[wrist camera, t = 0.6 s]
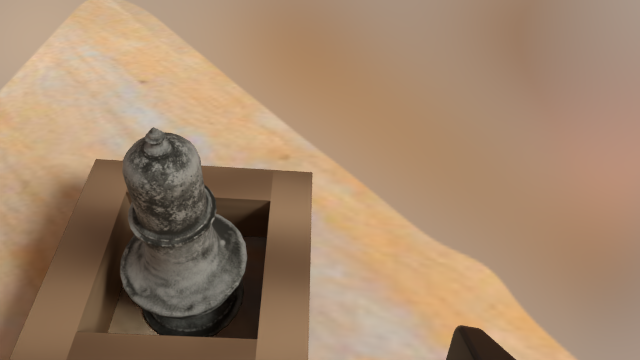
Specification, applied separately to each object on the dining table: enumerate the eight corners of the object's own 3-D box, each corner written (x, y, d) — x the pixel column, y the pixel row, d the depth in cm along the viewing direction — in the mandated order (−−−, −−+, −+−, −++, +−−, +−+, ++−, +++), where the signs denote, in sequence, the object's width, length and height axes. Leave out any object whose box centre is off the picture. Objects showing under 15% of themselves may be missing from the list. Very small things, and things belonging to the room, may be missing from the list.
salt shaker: (115, 333, 24) (21, 174, 15) (162, 237, 27) (111, 63, 18) (230, 358, 23) (206, 212, 14) (261, 258, 27) (259, 91, 18)
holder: (302, 418, 22) (307, 394, 19) (31, 410, 21) (-2, 384, 18) (308, 209, 30) (312, 172, 27) (111, 198, 29) (95, 159, 26)
